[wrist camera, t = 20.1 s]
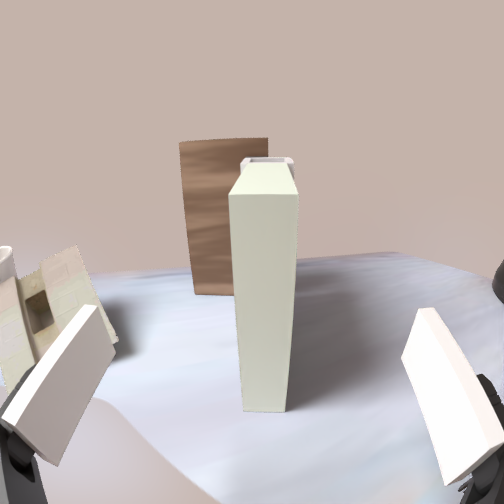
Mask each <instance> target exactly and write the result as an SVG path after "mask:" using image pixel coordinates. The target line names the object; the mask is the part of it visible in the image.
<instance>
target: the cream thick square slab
mask: <svg viewBox="0 0 504 504" xmlns="http://www.w3.org/2000/svg"><path fill="white" fill-rule="evenodd" d="M240 167H241V175H240V176H239V178H238V180H237V181H236V183H235V185H234V186H233V188H232V189H231V191H230V193H229V194H228V198H229V217H230V235H231V253H232V269H233V284H234V299H235V314H236V328H237V341H238V354H239V367H240V379H241V391H242V402H243V411H247V412H285V405H286V396H287V386H288V375H289V364H290V352H291V340H292V326H293V312H294V296H295V278H296V258H297V231H298V196H299V194H298V192H297V189H296V186H295V183H294V162H293V161H292V159H291V158H287V157H279V158H278V157H260V158H245V159H244V160H243V161H242V162H241V163H240Z"/></svg>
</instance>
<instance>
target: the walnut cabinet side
mask: <svg viewBox="0 0 504 504" xmlns="http://www.w3.org/2000/svg"><path fill="white" fill-rule="evenodd" d="M179 149H180V164H181V177H182V188H183V199H184V209H185V219H186V228H187V237H188V246H189V253H190V261H191V270H192V277H193V284H194V291H195V294H198V295H232V296H234V284H233V269H232V253H231V235H230V217H229V198H228V194H229V193H230V191H231V189H232V188H233V186H234V185H235V183H236V181H237V180H238V178H239V176H240V175H241V167H240V163H241V162H242V161H243V160H244V159H245V158H260V157H268V138H233V139H213V140H199V141H187V142H180V143H179Z"/></svg>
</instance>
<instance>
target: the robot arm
mask: <svg viewBox="0 0 504 504" xmlns="http://www.w3.org/2000/svg"><path fill="white" fill-rule="evenodd" d="M492 286H493V290H494V292H495V294H496V295H497V296H498V298H499V299H500V300H501V301H502V302H503V303H504V260H503V262H502V263H501V265H500V267H499V268H498V269H497V271H496V274H495V276H494V279H493V283H492ZM115 354H116V351H115V349H114V346H113V344H112V341H111V339H110V337H109V334H108V332H107V329H106V326H105V324H104V321H103V318H102V316H101V313H100V310H99V307H98V306H95V305H85V304H84V306H83V307H82V308H81V309H80V310H79V312H78V313H77V314H76V315H75V316H74V318H73V319H72V320H71V321H70V323H69V324H68V325H67V326H66V328H65V329H64V330H63V331H62V333H61V334H60V335H59V336H58V338H57V339H56V340H55V341H54V343H53V344H52V345H51V347H50V348H49V349H48V351H47V352H46V353H45V355H44V356H43V357H42V359H41V360H40V361H39V363H38V364H34V365H33V366H32V367H31V368H29V369H28V370H27V371H26V372H25V373H24V375H23V376H22V377H21V379H20V382H18V383H17V385H16V386H15V389H13V390H12V392H11V393H10V395H9V396H8V398H7V399H6V401H5V402H4V404H3V405H2V407H1V408H0V504H48V502H47V499H46V496H45V492H44V489H43V485H42V481H41V477H40V473H39V469H38V465H37V461H36V459H35V457H34V456H33V455H34V453H35V452H36V453H37V454H38V455H39V456H40V457H41V458H42V459H43V460H45V461H47V462H49V463H51V464H53V465H55V466H57V467H58V465H59V463H60V461H61V458H62V456H63V454H64V452H65V450H66V448H67V446H68V444H69V441H70V439H71V437H72V435H73V433H74V431H75V429H76V427H77V425H78V423H79V421H80V419H81V417H82V415H83V413H84V411H85V409H86V407H87V405H88V403H89V402H90V400H91V398H92V396H93V394H94V392H95V390H96V388H97V387H98V385H99V383H100V381H101V379H102V377H103V376H104V374H105V372H106V370H107V368H108V366H109V365H110V363H111V361H112V359H113V358H114V356H115ZM401 359H402V361H403V364H404V366H405V369H406V371H407V374H408V376H409V379H410V381H411V384H412V386H413V389H414V392H415V394H416V397H417V400H418V402H419V405H420V408H421V410H422V413H423V416H424V419H425V422H426V425H427V428H428V431H429V434H430V437H431V440H432V443H433V446H434V449H435V453H436V456H437V459H438V463H439V466H440V470H441V474H442V477H443V481H444V485H445V486H447V485H450V484H453V483H455V482H458V481H460V480H462V479H464V478H465V477H466V476H467V475H469V474H470V473H472V476H473V477H472V478H471V479H470V480H468V481H467V482H466V483H464V484H463V485H462V486H461V487H460V488H459V490H458V491H459V492H460V491H462V490H463V489H465V488H466V487H467V488H466V490H465V491H464V492H463V493H464V495H463V498H462V500H461V502H460V504H504V405H503V403H501V399H500V397H499V395H497V392H496V390H495V388H494V386H493V384H492V383H491V381H489V380H488V379H487V378H486V377H485V376H484V375H483V374H479V375H475V373H474V371H473V369H472V368H471V366H470V364H469V362H468V361H467V359H466V357H465V356H464V354H463V352H462V351H461V349H460V347H459V346H458V344H457V342H456V341H455V339H454V338H453V336H452V334H451V333H450V331H449V330H448V328H447V327H446V325H445V324H444V322H443V321H442V319H441V318H440V316H439V315H438V313H437V312H436V310H435V309H434V307H431V308H420V309H418V311H417V314H416V317H415V321H414V324H413V326H412V329H411V332H410V335H409V338H408V341H407V343H406V346H405V349H404V351H403V354H402V356H401Z"/></svg>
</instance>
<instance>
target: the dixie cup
mask: <svg viewBox="0 0 504 504" xmlns="http://www.w3.org/2000/svg"><path fill="white" fill-rule="evenodd" d="M12 252H13V249H12V248H11V247H9V246H2V247H0V283H1V282H3V281H5V280H7V279H8V278H10V277H12V276H15V277H16V278H17V273H16V269H15V264H14V259H13V255H12ZM17 280H18V278H17Z"/></svg>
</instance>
